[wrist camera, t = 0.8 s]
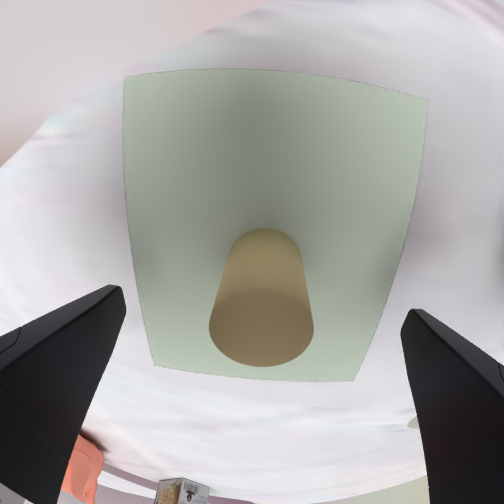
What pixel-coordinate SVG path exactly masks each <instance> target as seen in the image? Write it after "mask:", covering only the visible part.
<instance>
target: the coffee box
mask: <svg viewBox="0 0 504 504" xmlns="http://www.w3.org/2000/svg"><path fill="white" fill-rule="evenodd" d="M208 494H209V487H208V486H205V485H202V484H199V483H196V482H193V481H190V480H188V479H185V478H178V479H171V480H164V481H159V485H158V489H157V493H156V497H155V501H154V504H207V501H208Z"/></svg>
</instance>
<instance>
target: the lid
mask: <svg viewBox="0 0 504 504" xmlns="http://www.w3.org/2000/svg"><path fill="white" fill-rule="evenodd" d="M427 109H428V101H426V100H423V99H420V98H417V97H414V96H410V95H407V94H404V93H400V92H397V91H393V90H389V89H385V88H381V87H377V86H373V85H369V84H364V83H359V82H354V81H349V80H344V79H338V78H333V77H326V76H320V75H312V74H305V73H296V72H286V71H273V70H256V69H197V70H180V71H168V72H158V73H149V74H141V75H134V76H128V77H125V79H124V100H123V157H124V179H125V194H126V207H127V217H128V227H129V236H130V244H131V252H132V259H133V266H134V272H135V278H136V284H137V290H138V296H139V301H140V306H141V311H142V316H143V321H144V326H145V330H146V335H147V339H148V343H149V347H150V352H151V356H152V359H153V363H154V366H159V367H164V368H170V369H176V370H182V371H188V372H195V373H202V374H210V375H218V376H227V377H237V378H248V379H260V380H276V381H302V382H346V381H354V379H355V377H356V375H357V373H358V371H359V369H360V366H361V364H362V362H363V360H364V357H365V355H366V353H367V350H368V348H369V346H370V343H371V341H372V338H373V336H374V333H375V331H376V328H377V326H378V323H379V320H380V318H381V315H382V312H383V310H384V307H385V304H386V301H387V298H388V295H389V292H390V289H391V286H392V283H393V280H394V277H395V274H396V271H397V267H398V264H399V260H400V257H401V253H402V250H403V246H404V243H405V239H406V235H407V231H408V227H409V223H410V218H411V214H412V210H413V205H414V200H415V195H416V190H417V185H418V179H419V174H420V168H421V161H422V155H423V147H424V139H425V131H426V121H427Z"/></svg>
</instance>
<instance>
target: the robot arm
mask: <svg viewBox="0 0 504 504" xmlns="http://www.w3.org/2000/svg"><path fill="white" fill-rule="evenodd" d="M125 315H126V305H125V300H124V295H123V291H122V288H121V287H120V286H116V285H107V286H105V287H102V288H100V289H98V290H96V291H94V292H92V293H89V294H87V295H85V296H83V297H81V298H79V299H77V300H75V301H72V302H70V303H68V304H66V305H64V306H62V307H60V308H58V309H56V310H54V311H51V312H49V313H47V314H45V315H43V316H41V317H39V318H37V319H35V320H33V321H31V322H29V323H27V324H25V325H23V326H22V327H19V328H17V329H15V330H13V331H11V332H9V333H7V334H4V335H2V336H0V504H23V503H24V501H25V499H27V500H28V501H30V502H32V503H34V504H57V500H58V497H59V494H60V490H61V487H62V483H63V480H64V477H65V474H66V470H67V467H68V464H69V461H70V458H71V455H72V452H73V449H74V446H75V443H76V440H77V438H78V435H79V432H80V429H81V427H82V424H83V422H84V419H85V416H86V414H87V411H88V409H89V406H90V404H91V401H92V399H93V396H94V394H95V392H96V389H97V387H98V384H99V382H100V380H101V377H102V375H103V373H104V371H105V368H106V366H107V364H108V362H109V359H110V357H111V355H112V352H113V350H114V347H115V344H116V341H117V338H118V335H119V332H120V329H121V326H122V323H123V321H124V318H125ZM400 335H401V341H402V347H403V352H404V358H405V364H406V370H407V375H408V380H409V384H410V388H411V392H412V396H413V400H414V404H415V409H416V413H417V418H418V423H419V428H420V433H421V438H422V444H423V450H424V456H425V463H426V470H427V477H428V486H429V497H430V504H504V366H503V365H502V364H500V363H498V362H497V361H496V360H495V359H493V358H492V357H491V356H489V355H488V354H487V353H485V352H484V351H482V350H481V349H480V348H478V347H477V346H475V345H474V344H473V343H471V342H470V341H468V340H467V339H465V338H464V337H463V336H461V335H460V334H458V333H457V332H455V331H454V330H452V329H451V328H449V327H448V326H447V325H445V324H444V323H442V322H441V321H439V320H438V319H436V318H435V317H433V316H432V315H430V314H429V313H427V312H426V311H424V310H423V309H411V310H410V311H409V312H408V314H407V316H406V319H405V321H404V324H403V326H402V328H401V333H400Z"/></svg>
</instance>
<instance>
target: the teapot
mask: <svg viewBox="0 0 504 504" xmlns="http://www.w3.org/2000/svg"><path fill="white" fill-rule="evenodd" d="M96 446H97V445H96V444H95V443H94V442H92V441H90V440H88V439H84V438H83V437H82V436H80V435H78V438H77V440H76V443H75V446H74V449H73V452H72V455H71V458H70V461H69V464H68V467H67V470H66V474H65V477H64V480H63V483H62V487H61V489H62V490H64V491H66V492H68V493H70V494H73V495H74V496H75V497H76V498H78V499H79V500H81V501H83V502H85V501H86V503H87V504H95V493H96V489H97V478H98V476H99V475H100V473H101V471H102V469H103V466H104V457H103V453H102V452H101V451H100V450H99V449H97V448H96ZM84 494H85V500H84V497H83V495H84Z"/></svg>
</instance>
